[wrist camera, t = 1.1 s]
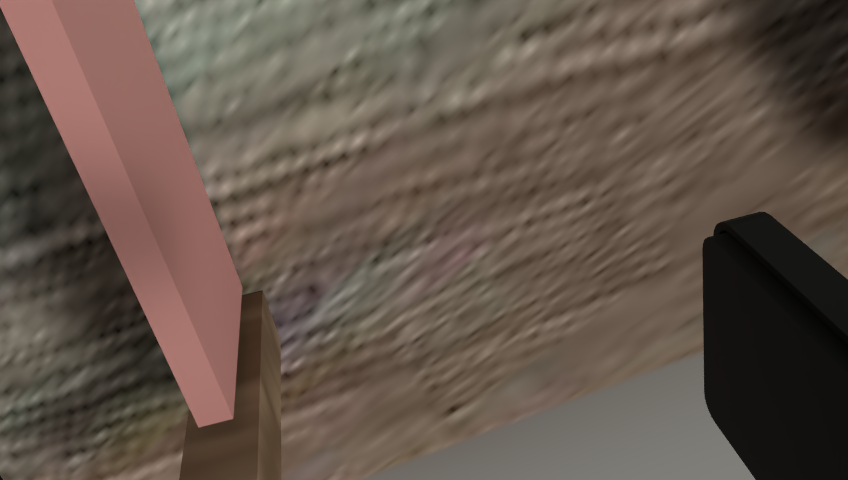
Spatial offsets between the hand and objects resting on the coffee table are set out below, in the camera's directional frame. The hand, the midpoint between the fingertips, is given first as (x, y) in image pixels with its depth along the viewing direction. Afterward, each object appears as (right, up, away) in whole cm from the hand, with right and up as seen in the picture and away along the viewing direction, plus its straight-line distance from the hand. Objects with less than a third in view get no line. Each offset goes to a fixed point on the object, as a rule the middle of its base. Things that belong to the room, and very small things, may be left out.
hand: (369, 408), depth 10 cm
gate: (-9, +7, +19) cm, 22 cm away
